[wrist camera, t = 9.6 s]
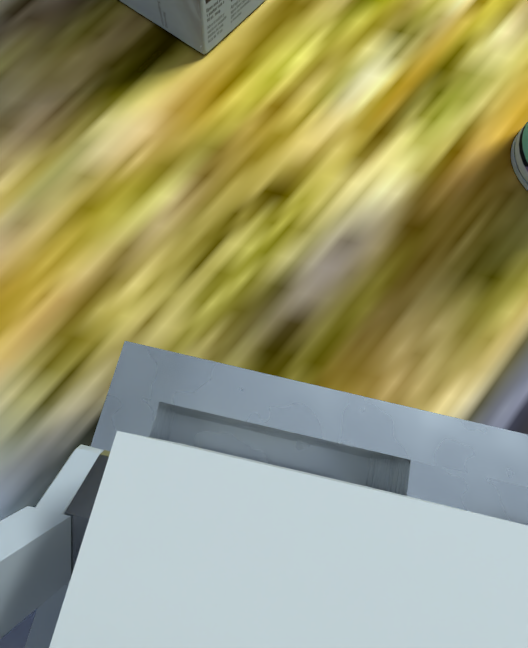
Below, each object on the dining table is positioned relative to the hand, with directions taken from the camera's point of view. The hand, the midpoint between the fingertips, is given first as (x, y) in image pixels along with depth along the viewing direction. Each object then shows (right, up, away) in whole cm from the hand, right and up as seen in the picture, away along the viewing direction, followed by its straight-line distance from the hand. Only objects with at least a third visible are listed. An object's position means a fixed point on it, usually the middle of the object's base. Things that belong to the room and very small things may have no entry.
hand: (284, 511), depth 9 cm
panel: (0, -2, +5) cm, 5 cm away
